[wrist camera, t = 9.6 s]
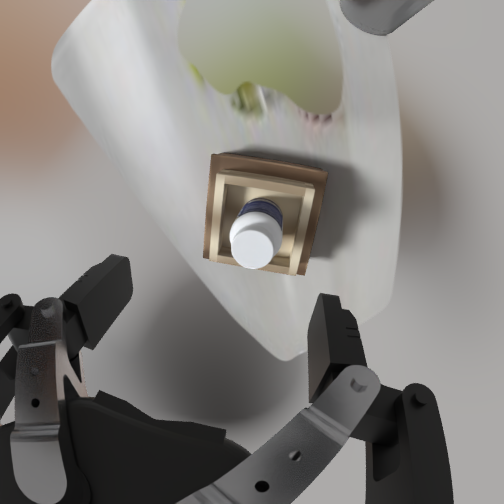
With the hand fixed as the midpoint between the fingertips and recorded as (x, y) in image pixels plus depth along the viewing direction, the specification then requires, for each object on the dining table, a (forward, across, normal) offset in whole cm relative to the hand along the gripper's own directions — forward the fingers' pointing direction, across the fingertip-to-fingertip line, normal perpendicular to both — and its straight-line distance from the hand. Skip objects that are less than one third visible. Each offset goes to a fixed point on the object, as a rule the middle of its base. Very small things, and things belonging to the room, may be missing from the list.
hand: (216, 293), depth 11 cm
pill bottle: (+24, 0, +5) cm, 24 cm away
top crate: (+24, 0, +5) cm, 25 cm away
